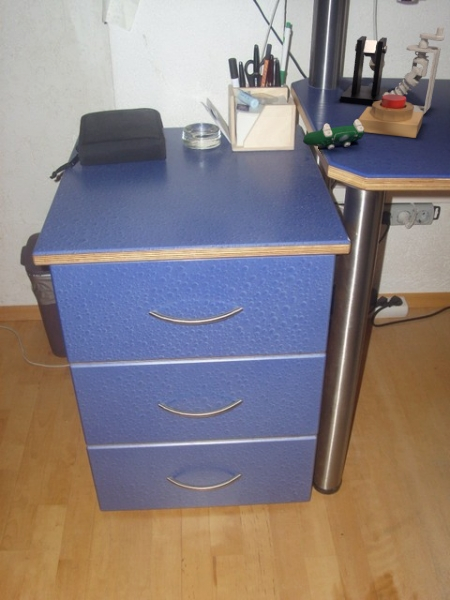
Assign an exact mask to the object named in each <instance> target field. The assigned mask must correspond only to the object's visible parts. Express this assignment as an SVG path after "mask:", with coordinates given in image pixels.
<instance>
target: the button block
mask: <svg viewBox="0 0 450 600" xmlns="http://www.w3.org/2000/svg"><path fill="white" fill-rule="evenodd" d="M381 103H382V100H380V101H376V102H374V103H373V104H372V105H371V106H367V107H366V108H365V109H364V111H363V112H362V114H361V115H360V116H359V117H358V120H359V121H360V122H361V124H362V126H363V128H364V133H368V134H369V133H370V134H378V135H388V136H393V137H403V138H410V139H411V138H412V139H416V138H417V136H418V134H419V132H420V129H421V127H422V125H423V118H424V115H425V114H424V113H423V112H414V111H413V110H414V104H412V103H411V102H408V101H406V103H405V108H402V109H390V108H385V107H382V106H381Z"/></svg>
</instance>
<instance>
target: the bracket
mask: <svg viewBox="0 0 450 600" xmlns="http://www.w3.org/2000/svg"><path fill="white" fill-rule="evenodd" d="M366 40H367V35H361V36H360V37H359V38H358V39H356V44H355V47H354V51H355V57H354V64H353V75H352V82H351V84H350V86H349V87H347V89H346V90H345V91H344V92H343V93H342V94H341V95H340V99H339V103H344V104H353V105H363V106H372V104H373V103H374V102H376V101H380V100H382V97H383V94H384V93H385V92H388V93H390V87H382V78H383V71H384V67H383V64H384V61H385V57H386V54H387V51H388V45H387V43H388V42H387V41H388V37H381V38H380V39H379V40H377V42H378V45H377V53H376V61H375V69H374V71H373V77H372V84H371V85H362V80H363V71H364V64H365V55H364V47H365V41H366Z"/></svg>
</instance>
